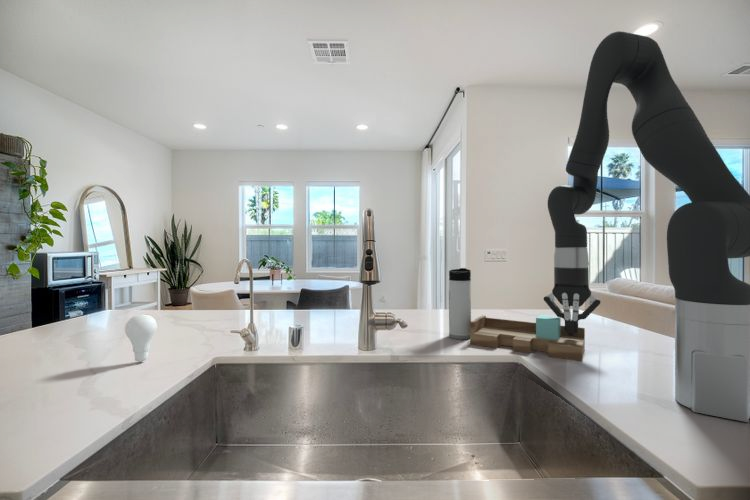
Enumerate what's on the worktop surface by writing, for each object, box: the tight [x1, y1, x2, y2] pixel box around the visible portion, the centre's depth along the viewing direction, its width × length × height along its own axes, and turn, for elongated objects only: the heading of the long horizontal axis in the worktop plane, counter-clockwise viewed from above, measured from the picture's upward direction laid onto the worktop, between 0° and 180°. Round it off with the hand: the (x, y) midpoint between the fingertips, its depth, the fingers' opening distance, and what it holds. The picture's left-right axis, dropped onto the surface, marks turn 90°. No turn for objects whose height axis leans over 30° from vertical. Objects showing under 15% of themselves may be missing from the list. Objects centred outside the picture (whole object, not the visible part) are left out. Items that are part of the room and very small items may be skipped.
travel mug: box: [448, 267, 472, 341], centre depth 102 cm, size 6×7×20 cm
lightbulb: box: [124, 313, 158, 363], centre depth 80 cm, size 6×6×11 cm
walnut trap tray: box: [469, 315, 586, 362], centre depth 91 cm, size 11×26×6 cm, turn 56°
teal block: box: [535, 314, 562, 340], centre depth 90 cm, size 5×5×5 cm
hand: (571, 335), depth 87 cm, fingers closed
